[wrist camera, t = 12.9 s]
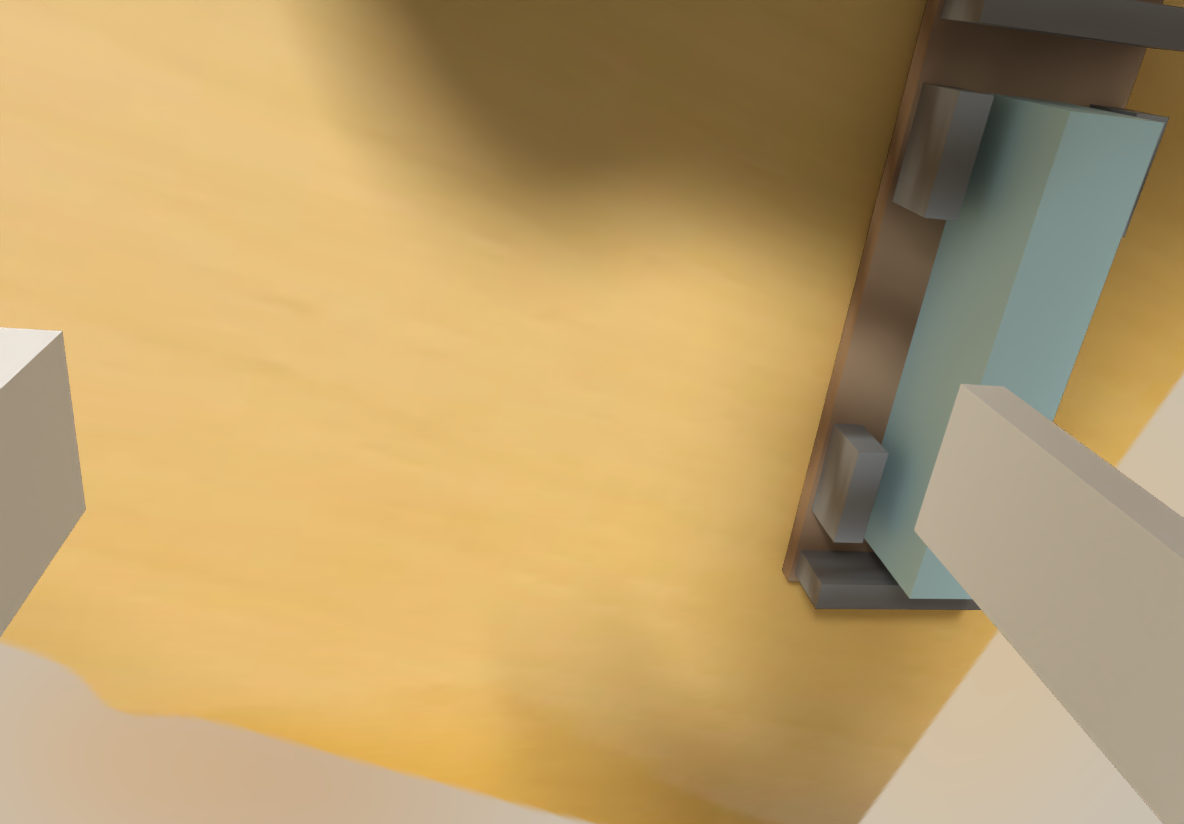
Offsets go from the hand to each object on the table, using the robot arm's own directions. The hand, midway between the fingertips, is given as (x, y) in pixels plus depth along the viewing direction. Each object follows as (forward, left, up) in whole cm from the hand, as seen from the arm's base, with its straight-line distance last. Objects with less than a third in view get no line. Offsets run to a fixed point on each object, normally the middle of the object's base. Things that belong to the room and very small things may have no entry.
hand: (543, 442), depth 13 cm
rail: (+7, +23, -26) cm, 35 cm away
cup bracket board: (+6, +23, -27) cm, 36 cm away
